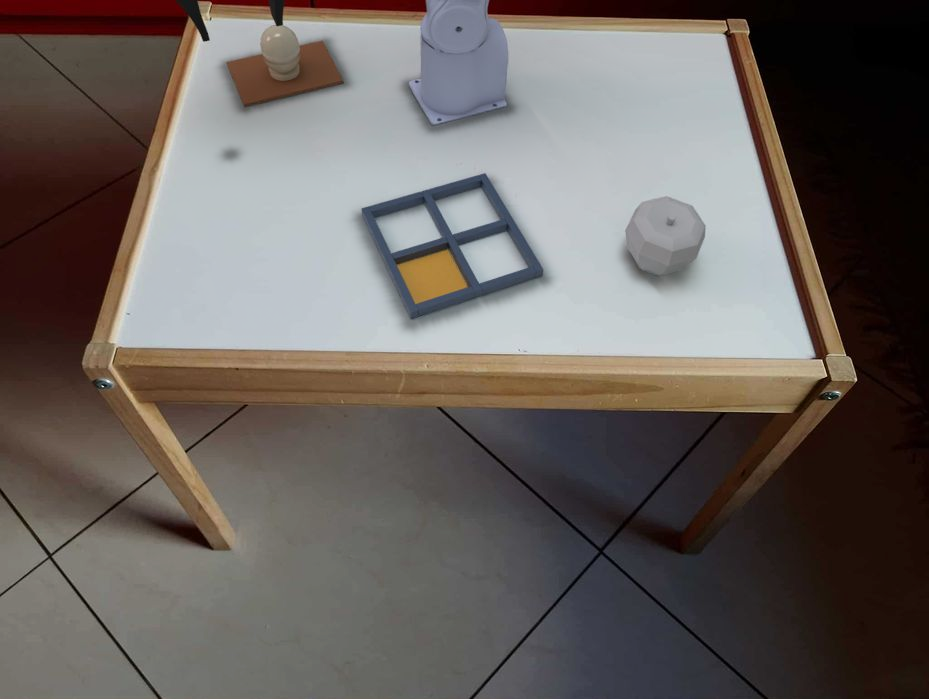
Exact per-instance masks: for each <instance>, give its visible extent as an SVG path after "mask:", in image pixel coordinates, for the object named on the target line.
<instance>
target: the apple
mask: <svg viewBox="0 0 929 699" xmlns="http://www.w3.org/2000/svg"><path fill="white" fill-rule="evenodd" d="M706 227H707V226H706V223H705V222H704V221H703V220H702V218H701V216H700V215H699V213H698V212H697V210H696V209H695V207H694V206H693V205H692V204H690V203H687V202H684V201H681V200H678V199H675V198H673V197H671V196H667V195H665V196H662V197H657V198H653V199H649V200H645V201H641V203H639V205H638V206H637V207H636V208H635V209H634V211H633V213H632V215H631V216H630V220H629V221H628V224H627V226H626V228H625V230H624V234H625V241H626V246H627V248H628V250H629V252H630V254H631V256H632V258H633V259H634V262H635V263H636V265H637V266H638V268H639V269H640V271H641V270H642V271H644V272H646V273H649V274H651V275H654V276H656V277H662V276H664V275H669V274H671V273H675V272H678V271H681V270H684V269H686V268H687V267H688V266H689V265H691V264H692V263H693V262H694V261H695V260H696V259H697V258H698V255H699V253H700V250H701V248H702V245H703V244H704V241H705V238H706Z"/></svg>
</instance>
